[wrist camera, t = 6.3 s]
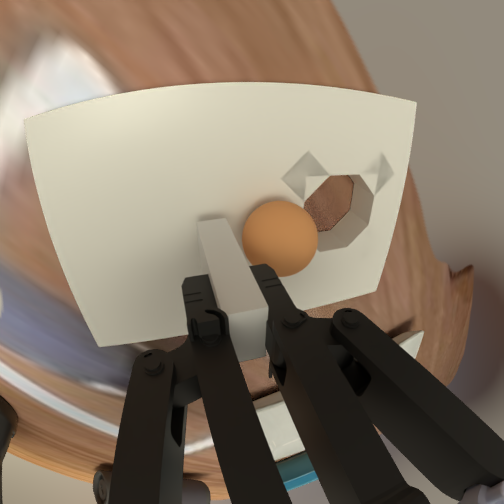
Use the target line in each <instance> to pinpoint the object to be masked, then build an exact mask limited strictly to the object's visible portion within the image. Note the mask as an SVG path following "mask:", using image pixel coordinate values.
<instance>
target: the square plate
mask: <svg viewBox="0 0 504 504" xmlns="http://www.w3.org/2000/svg"><path fill="white" fill-rule="evenodd" d="M423 334H424V331H423V330H420V331H409V332H405V333H402V334H400V335H398V336H396V337H394V338H392V339H393V340H394V341H395V342H396V343H397V344H398V345H399V346H401V347H402V348H403V349H404V350H405V351H406V352H407V353H409V354H410V355H411V356H412V357H413V358H414V359H415V357H416V355H417V352H418V349H419V346H420V343H421V340H422V337H423ZM253 404H254V407H255V410H256V412H257V415H258V418H259V421H260V423H261V426H262V429H263V431H264V434H265V437H266V439H267V442H268V445H269V447H270V450H271V452H272V455H273V458H274V460H277V459H280V458H283V457H286V456H289V455H292V454H295V453H298V452H301V451H304V450H305V448H304V446H303V443H302V441H301V439H300V437H299V434H298V432H297V430H296V427H295V425H294V423H293V421H292V418H291V416H290V414H289V411H288V409H287V407H286V404H285V402H284V399H283V397H282V395H281V392H280V391H278V392H276V393H273V394H271V395H268V396H266V397H263V398H260V399H258V400H255V401H253Z"/></svg>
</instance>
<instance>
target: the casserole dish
mask: <svg viewBox="0 0 504 504" xmlns="http://www.w3.org/2000/svg"><path fill="white" fill-rule="evenodd" d="M276 465H277V468H278V470H279V473H280V475H281V478H282V480H283V483H284V485H285V488H286V490H287V491H289V490H292V489H295V488H298V487H300V486H303V485H305V484H308V483H311V482H313V481H316V480H318V477H317V475H316V473H315V470H314V468H313V466H312V464H311V462H310V459H309V457H308V455H307V453H306V451H304V452H302V453H300V454H297V455H295V456H292V457H290V458H287V459H286V460H282V461H279V462H277V463H276Z"/></svg>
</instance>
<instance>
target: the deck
mask: <svg viewBox="0 0 504 504" xmlns="http://www.w3.org/2000/svg"><path fill="white" fill-rule="evenodd" d="M416 105H417V103H416V102H413V101H409V100H404V99H400V98H395V97H391V96H386V95H381V94H375V93H370V92H364V91H357V90H351V89H344V88H336V87H327V86H318V85H306V84H292V83H270V82H227V83H204V84H190V85H179V86H169V87H161V88H153V89H146V90H139V91H133V92H127V93H122V94H116V95H111V96H106V97H101V98H97V99H92V100H88V101H84V102H80V103H76V104H72V105H68V106H65V107H61V108H58V109H54V110H51V111H48V112H45V113H41V114H38V115H35V116H32V117H30V118H27V119H24V125H25V132H26V139H27V145H28V151H29V156H30V161H31V166H32V171H33V175H34V180H35V184H36V188H37V192H38V196H39V199H40V203H41V207H42V210H43V214H44V217H45V220H46V224H47V227H48V230H49V233H50V236H51V239H52V242H53V245H54V248H55V250H56V253H57V256H58V259H59V261H60V264H61V267H62V269H63V272H64V274H65V277H66V279H67V281H68V284H69V286H70V289H71V291H72V293H73V295H74V298H75V300H76V302H77V304H78V306H79V309H80V311H81V313H82V315H83V317H84V319H85V321H86V323H87V325H88V327H89V329H90V331H91V333H92V335H93V337H94V339H95V341H96V342H97V344H98V346H99V347H104V346H113V345H121V344H128V343H136V342H143V341H150V340H157V339H163V338H169V337H176V336H182V335H188V329H187V318H186V312H185V306H184V300H183V294H182V287H181V286H182V283H183V281H184V279H185V278H186V277H192V276H198V275H203V272H202V269H201V262H200V253H199V244H198V235H197V225H196V222H200V221H207V220H214V219H222V218H226V220H227V222H228V224H229V226H230V228H231V230H232V232H233V234H234V236H235V238H236V240H237V243H238V245H239V247H240V249H241V251H242V253H243V255H244V257H245V259H246V261H247V263H248V265H249V266H253V265H252V264H251V263H250V262H249V260H248V259H247V257H246V255H245V253H244V250H243V245H242V233H243V228H244V225H245V223H246V221H247V219H248V217H249V216H250V215H251V214H252V212H253V211H255V210H256V209H257V208H258V207H260V206H262V205H264V204H266V203H269V202H273V201H287V202H291V203H294V204H296V205H298V206H300V207H302V208H304V202H305V201H306V199H307V198H308V197H309V196H310V195H311V194H312V193H313V192H314V191H315V190H316V189H317V188H318V187H319V186H320V185H321V184H322V183H323V182H324V181H325V180H326V179H327V178H328V177H329V176H330V175H349V177H350V178H351V179H352V181H353V182H354V187H353V194H352V200H351V207H350V210H349V211H348V212H347V213H346V215H345V216H344V217H343V218H342V219H341V220H340V221H339V222H338V223H337V224H336V225H335V226H334V227H333V228H332V229H331V230H329V231H322V232H318V246H317V250H316V253H315V255H314V257H313V259H312V260H311V262H310V263H309V264H308V265H307V266H306V267H305V268H304V269H303V270H301V271H300V272H298V273H296V274H294V275H291V276H287V277H278V278H279V279H280V281H281V282H282V285H283V286H284V287H285V289H286V291H287V293H288V294H289V296H290V298H291V299H292V301H293V303H294V305H295V306H296V308H297V309H300V310H302V311H303V310H307V309H311V308H315V307H319V306H323V305H327V304H331V303H334V302H338V301H342V300H346V299H349V298H353V297H357V296H360V295H364V294H367V293H371V292H374V291H376V289H377V286H378V283H379V280H380V277H381V274H382V270H383V267H384V264H385V261H386V257H387V254H388V250H389V247H390V243H391V239H392V235H393V232H394V228H395V224H396V220H397V216H398V211H399V207H400V203H401V198H402V194H403V189H404V184H405V179H406V174H407V168H408V163H409V157H410V150H411V144H412V138H413V137H412V136H413V130H414V122H415V113H416Z"/></svg>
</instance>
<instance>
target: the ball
mask: <svg viewBox="0 0 504 504" xmlns="http://www.w3.org/2000/svg"><path fill="white" fill-rule="evenodd" d="M242 245H243V250H244V253H245V255H246V257H247V259H248V260H249V262H250V263H251V264H252V265H259V264H265V263H266V264H267V265H268V266H270V267H271V268H273V269H274V270H275V272H276V274H277V276H278V277H287V276H291V275H294V274H296V273H298V272H300V271H301V270H303V269H304V268H305V267H306V266H307V265H308V264H309V263H310V262H311V260H312V259H313V257H314V255H315V253H316V250H317V246H318V232H317V228H316V225H315V223H314V221H313V219H312V218H311V216H310V215H309V214H308V213H307V212H306V211H305V210H304V209H303V208H302V207H300V206H298V205H296V204H294V203H291V202H287V201H273V202H269V203H266V204H264V205H262V206H260V207H258V208H257V209H256V210H255V211H253V212H252V214H251V215H250V216H249V217H248V219H247V221H246V223H245V225H244V228H243V233H242Z"/></svg>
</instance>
